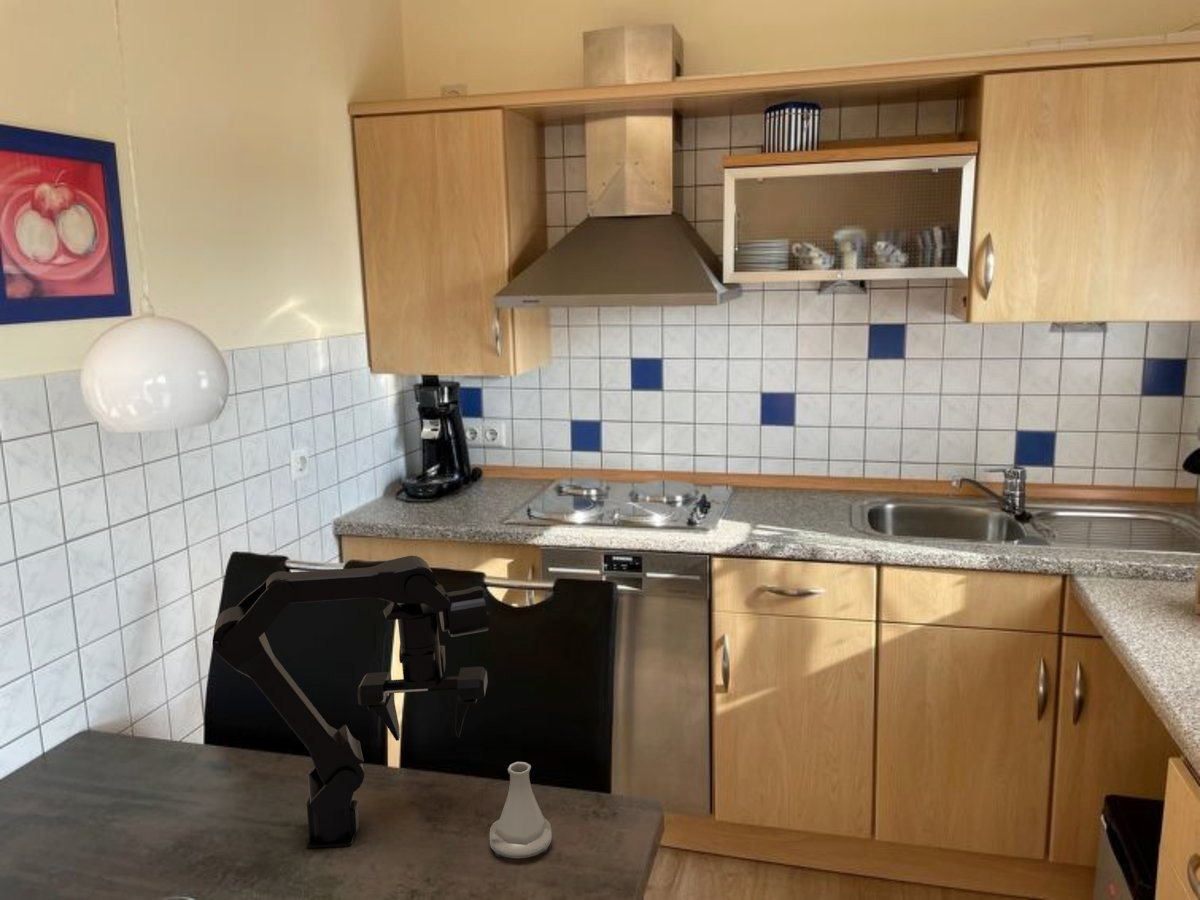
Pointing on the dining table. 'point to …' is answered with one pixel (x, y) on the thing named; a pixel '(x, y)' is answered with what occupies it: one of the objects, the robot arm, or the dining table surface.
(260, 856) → the dining table surface
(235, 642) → the robot arm
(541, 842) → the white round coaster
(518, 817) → the flask
